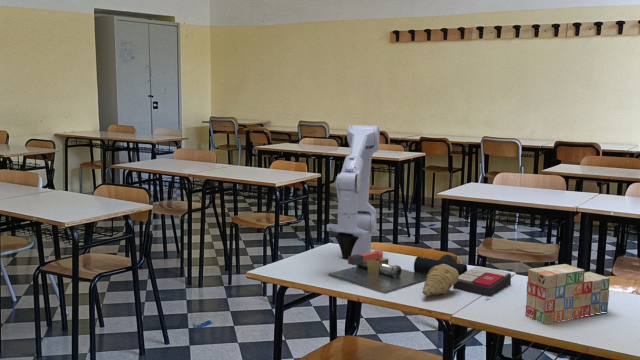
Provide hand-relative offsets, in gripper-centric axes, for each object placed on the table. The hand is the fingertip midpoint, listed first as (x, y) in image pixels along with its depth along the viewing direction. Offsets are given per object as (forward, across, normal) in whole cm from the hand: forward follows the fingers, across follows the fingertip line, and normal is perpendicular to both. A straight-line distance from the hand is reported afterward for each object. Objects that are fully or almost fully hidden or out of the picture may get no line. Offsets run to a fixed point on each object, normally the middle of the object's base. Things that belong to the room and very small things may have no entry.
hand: (346, 258), depth 177 cm
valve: (+6, +7, +7) cm, 12 cm away
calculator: (+6, +33, +21) cm, 40 cm away
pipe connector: (+6, +18, +25) cm, 31 cm away
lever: (+1, +4, +4) cm, 6 cm away
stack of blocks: (+6, +59, +15) cm, 61 cm away
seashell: (+6, +28, +5) cm, 29 cm away
